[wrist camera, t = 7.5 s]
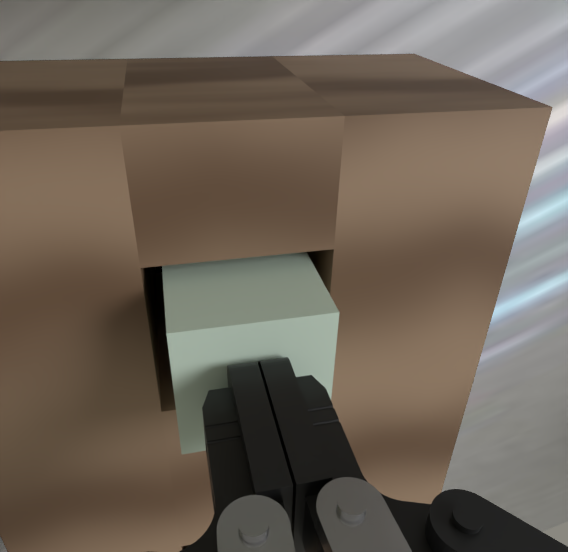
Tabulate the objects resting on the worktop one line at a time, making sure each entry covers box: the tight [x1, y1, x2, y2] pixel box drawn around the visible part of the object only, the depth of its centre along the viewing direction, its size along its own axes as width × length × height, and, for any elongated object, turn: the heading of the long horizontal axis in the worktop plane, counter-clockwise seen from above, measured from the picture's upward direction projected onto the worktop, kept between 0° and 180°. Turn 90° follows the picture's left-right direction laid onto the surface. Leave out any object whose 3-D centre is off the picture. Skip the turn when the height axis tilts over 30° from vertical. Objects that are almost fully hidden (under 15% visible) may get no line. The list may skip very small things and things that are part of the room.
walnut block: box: [0, 54, 552, 552], centre depth 21 cm, size 24×16×8 cm, turn 179°
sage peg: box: [162, 252, 339, 454], centre depth 16 cm, size 4×4×8 cm
